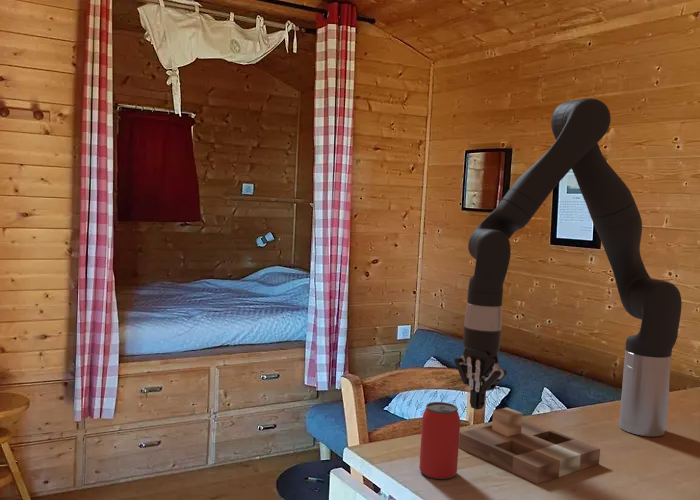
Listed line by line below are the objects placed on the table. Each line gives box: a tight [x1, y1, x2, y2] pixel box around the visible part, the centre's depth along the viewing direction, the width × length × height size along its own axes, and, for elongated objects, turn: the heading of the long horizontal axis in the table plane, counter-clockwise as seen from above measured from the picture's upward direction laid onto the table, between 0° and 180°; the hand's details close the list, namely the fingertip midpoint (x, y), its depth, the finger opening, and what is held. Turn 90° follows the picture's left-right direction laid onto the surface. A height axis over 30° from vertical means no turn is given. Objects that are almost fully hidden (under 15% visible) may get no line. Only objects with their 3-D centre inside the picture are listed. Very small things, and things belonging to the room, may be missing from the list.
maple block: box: [491, 407, 523, 436], centre depth 132 cm, size 4×4×4 cm
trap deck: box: [458, 418, 601, 485], centre depth 128 cm, size 18×19×3 cm
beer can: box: [418, 401, 461, 480], centre depth 117 cm, size 7×7×12 cm
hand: (476, 408), depth 138 cm, fingers closed
